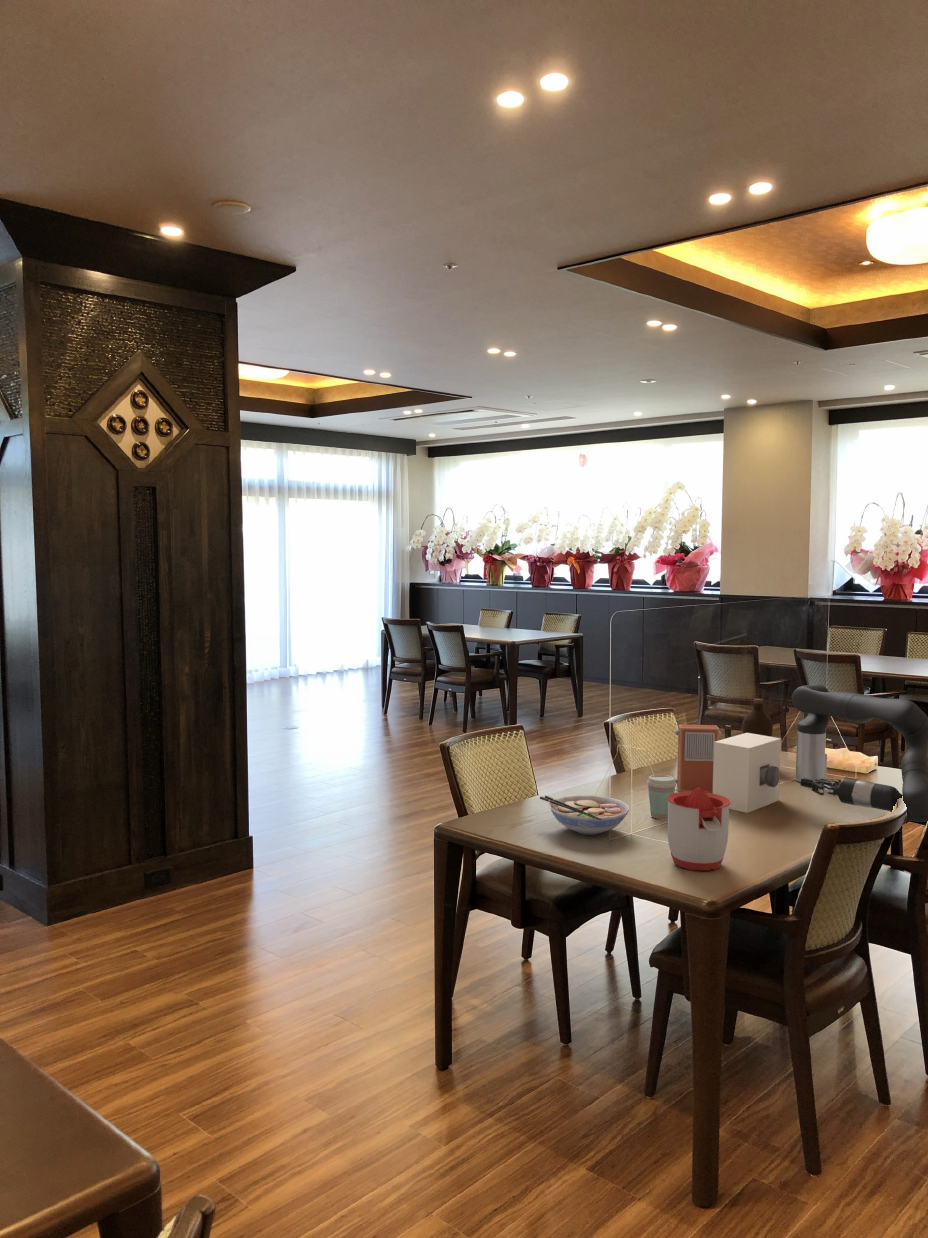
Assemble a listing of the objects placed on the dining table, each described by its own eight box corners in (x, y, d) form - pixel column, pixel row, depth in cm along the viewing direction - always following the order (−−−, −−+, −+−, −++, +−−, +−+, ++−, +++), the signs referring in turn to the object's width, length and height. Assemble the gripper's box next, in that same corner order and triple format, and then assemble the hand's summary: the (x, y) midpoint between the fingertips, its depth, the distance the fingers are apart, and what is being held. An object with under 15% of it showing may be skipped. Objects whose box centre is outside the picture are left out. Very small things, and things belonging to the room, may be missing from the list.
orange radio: (672, 786, 315) (718, 788, 314) (675, 792, 308) (722, 793, 307) (674, 723, 313) (720, 724, 312) (676, 728, 306) (723, 729, 305)
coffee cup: (678, 815, 283) (679, 776, 282) (670, 823, 275) (671, 782, 274) (651, 811, 287) (651, 772, 286) (642, 818, 279) (643, 779, 278)
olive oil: (763, 772, 335) (766, 702, 333) (735, 767, 342) (737, 699, 340) (776, 766, 343) (778, 699, 341) (748, 762, 350) (751, 695, 348)
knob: (753, 779, 298) (753, 760, 297) (779, 785, 291) (780, 765, 291) (742, 783, 293) (743, 763, 293) (769, 789, 287) (770, 768, 286)
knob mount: (744, 792, 308) (746, 732, 306) (779, 800, 299) (781, 738, 297) (712, 804, 294) (714, 741, 292) (747, 813, 285) (749, 748, 284)
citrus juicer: (682, 879, 230) (684, 799, 228) (656, 855, 247) (658, 781, 245) (742, 875, 233) (744, 796, 231) (712, 852, 250) (714, 778, 248)
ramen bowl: (649, 836, 263) (649, 808, 262) (585, 850, 251) (585, 820, 250) (591, 814, 284) (591, 787, 283) (530, 826, 272) (530, 798, 271)
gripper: (869, 776, 275) (812, 766, 287) (849, 784, 265) (791, 773, 278) (868, 801, 275) (811, 790, 288) (848, 810, 266) (791, 798, 278)
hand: (801, 781), depth 283 cm, fingers closed
